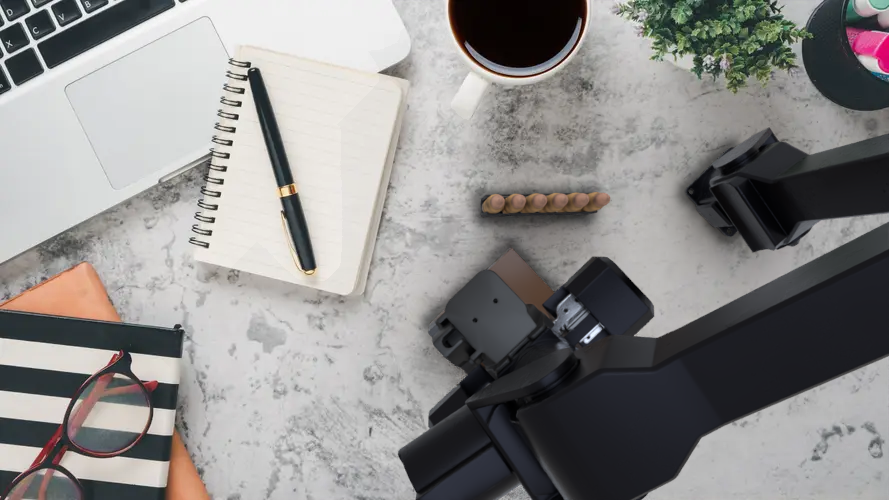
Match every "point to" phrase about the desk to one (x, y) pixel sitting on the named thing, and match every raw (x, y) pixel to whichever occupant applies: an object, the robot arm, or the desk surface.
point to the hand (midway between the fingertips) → (527, 346)
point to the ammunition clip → (543, 204)
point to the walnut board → (513, 286)
